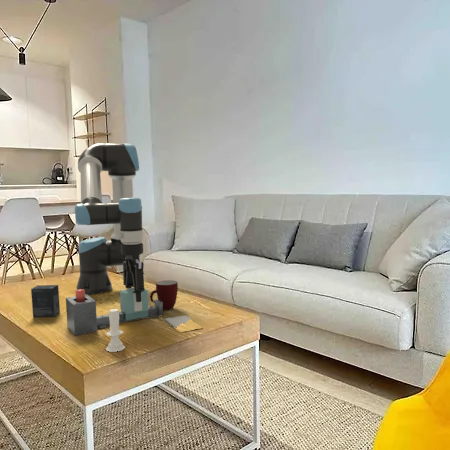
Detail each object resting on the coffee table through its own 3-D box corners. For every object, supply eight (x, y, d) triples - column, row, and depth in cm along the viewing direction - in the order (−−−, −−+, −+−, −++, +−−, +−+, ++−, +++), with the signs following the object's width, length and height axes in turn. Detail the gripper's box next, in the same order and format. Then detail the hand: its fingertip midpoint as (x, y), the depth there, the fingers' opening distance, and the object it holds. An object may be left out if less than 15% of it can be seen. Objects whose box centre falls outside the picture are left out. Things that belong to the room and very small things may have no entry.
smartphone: (180, 332, 138) (163, 318, 151) (180, 335, 138) (163, 321, 152) (204, 327, 142) (185, 314, 155) (204, 330, 142) (186, 317, 155)
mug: (155, 314, 159) (154, 287, 158) (147, 308, 166) (146, 282, 165) (181, 309, 164) (181, 283, 163) (173, 304, 171) (172, 279, 170)
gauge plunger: (75, 300, 143) (74, 290, 143) (83, 299, 145) (83, 288, 144) (77, 302, 141) (76, 291, 140) (86, 301, 142) (85, 290, 142)
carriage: (120, 316, 154) (119, 290, 153) (142, 312, 158) (141, 287, 157) (126, 321, 149) (125, 294, 148) (148, 316, 153) (148, 290, 152)
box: (60, 312, 163) (58, 284, 162) (54, 317, 157) (52, 288, 156) (39, 312, 163) (37, 284, 162) (32, 317, 158) (30, 288, 157)
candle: (102, 351, 124) (100, 310, 123) (110, 344, 129) (109, 305, 128) (120, 352, 123) (118, 311, 122) (127, 345, 128) (126, 305, 127)
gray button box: (67, 327, 146) (65, 297, 145) (88, 323, 150) (87, 294, 149) (74, 335, 138) (73, 304, 137) (97, 331, 141) (95, 301, 140)
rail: (90, 324, 148) (89, 310, 148) (157, 312, 161) (156, 298, 161) (95, 329, 143) (94, 314, 143) (164, 316, 156) (163, 302, 156)
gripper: (112, 240, 157) (114, 304, 159) (131, 247, 141) (134, 317, 143) (132, 239, 161) (134, 300, 163) (153, 244, 145) (155, 313, 147)
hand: (134, 308), depth 153 cm, fingers closed on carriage, 6 cm apart
